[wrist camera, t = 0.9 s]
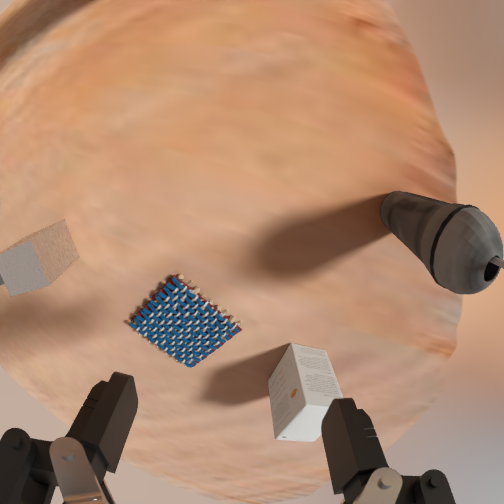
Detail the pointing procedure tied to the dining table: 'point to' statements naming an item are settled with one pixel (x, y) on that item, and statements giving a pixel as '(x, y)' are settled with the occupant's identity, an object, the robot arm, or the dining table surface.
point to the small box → (301, 393)
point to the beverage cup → (447, 240)
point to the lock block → (38, 259)
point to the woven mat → (184, 322)
